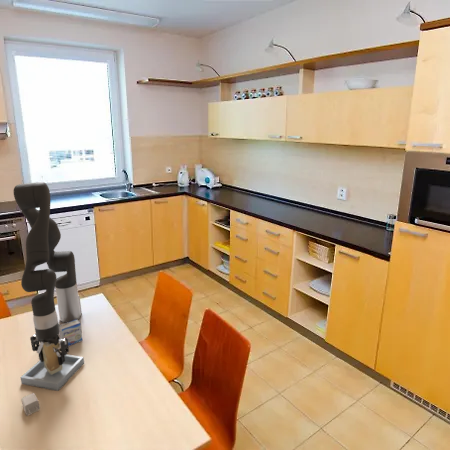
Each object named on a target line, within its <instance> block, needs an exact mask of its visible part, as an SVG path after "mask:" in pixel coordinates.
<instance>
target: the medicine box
mask: <svg viewBox="0 0 450 450" xmlns="http://www.w3.org/2000/svg"><path fill="white" fill-rule="evenodd" d="M58 325H59V324H58ZM59 337H60V339H65V338H67V339H68V346H69V347H70V346H72V345H75V344H77V343H80V342H82V341H83V334H82V323H80V321H79V319H76V320H74V321H71V322H64V323H63V324H60V325H59Z"/></svg>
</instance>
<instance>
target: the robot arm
mask: <svg viewBox="0 0 450 450" xmlns="http://www.w3.org/2000/svg"><path fill="white" fill-rule="evenodd" d="M13 197H14V198H13V199H14V200H15V203H16V205H17V207H18V209H20V211H21V213H22V215H23V216H24V217H25V219H26V220H27V222H28V224H29V226H30V231H29V232H28V234H27V236H26V240H25V255H26V257H25V259H26V260H25V267H24V270H23V273H22V277H21V287H22V289H23V290H24V291H25V292H26V293H33V292H41V291H44V292H41V293H40V294H37V295H35V296H34V297H32V299H31V300H30V301H31V302H30V303H31V309H32V315H33V317H32V318H33V325H34V326H33V327H34V332H35V333H34V334H33V335H31V336H30V339H29V340H30V344H31V350H32V351H33V352H36V353H37V355H38V359H39V361H40V362H43V361H44V358H43V352H42V349H43V345H44V343H45V342H48V343H47V344H51V343H54V344H55V346H56V345H57V344H58V342H59V346H60V348H57V349H55V347H53V352H54V353H56V354H57V355H58V362H59V365H62V364H63V363H64V362H65V355H66V354H68V353H69V352H70V348H69V347H70V346H68V339H67V338H65V339H60V336H59V321H60V322H62V323H68V322H71V321H74V320H76V319H77V320H79V319H80V318H81V317H82V316H81V315H82V313H83V311H82V305H81V304H82V303H81V297H80V295H79V291H78V284H77V274H76V259H75V255H74V252H73V251H71V250H68V251H67V250H66V251H64V250H63V251H62V250H61V251H55V249H56V247H57V246H58V245H59V242H60V240H61V237H62V236H61V235H62V234H61V230H60V228H59V225H58V224H57V222H56V221H55V220H54V219H53V218H52V217H50V216H51V192H50V188H49V186H48V185H47V183H46V182H43V181H41V182H40V181H39V182H38V181H37V182H36V181H35V182H28V183H21V184H16V185H15V186H14V188H13ZM38 208H39V210H38ZM43 264H46V265H47V268H45V269H37V270H35V269H36V267H38V266H40V265H43ZM62 272H63V273H65V272H66V273H65V274H63V275H60V276H58V277H57V273H62ZM55 296H56V302H57V309H58V314H57V311H56V306H55V305H56V304H55ZM58 315H59V319H58ZM59 349H60V352H59Z"/></svg>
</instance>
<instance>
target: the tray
mask: <svg viewBox="0 0 450 450" xmlns="http://www.w3.org/2000/svg"><path fill="white" fill-rule="evenodd" d="M84 359H85V358H84V356H79V355H72V354H68V353H67V354H66V355H65V362H64V363H63V364H62V367H63V369H62V370H61V371H59V372H56V373H54V374H52V375H51V374H50V373H49V372H48V371H47V369H46V368H45V365H44V361H43V362H40V360H39V361H37V362H36V363H35V364H34V365H32V367H30V368H29V369H28V370H27V371H25V373H24V374H23V375H21V376H20V383H21V385H26V386H31V387H35V388H36V387H37V388H41V389H46V390H51V391H58V392H59V391H60V390H61V388H63V387H64V386H65V384H66V383H68V381H69V380H70V379H71V378H72V377H73V376H74V375H75V374H76V373H77V372H78V371H79V370H80V368H82V367H83V365H84V364H85V360H84Z"/></svg>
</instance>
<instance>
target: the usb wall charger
mask: <svg viewBox="0 0 450 450" xmlns="http://www.w3.org/2000/svg"><path fill="white" fill-rule="evenodd" d="M21 405H22V408H23V410H24V413H25V415H26V416H29V415H30V416H32V414H34V413H36V412H39V411H40V409H41V407H40V401H39V400H38V397H37V396H36V394H35V393H34V392H32V393H30V394H28V395H25V396H23V397H22V398H21Z"/></svg>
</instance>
